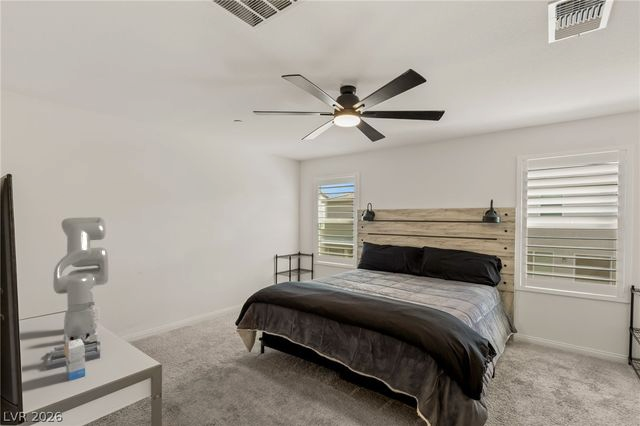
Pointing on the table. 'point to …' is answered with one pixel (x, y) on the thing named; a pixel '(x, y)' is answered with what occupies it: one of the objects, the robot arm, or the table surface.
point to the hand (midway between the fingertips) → (80, 350)
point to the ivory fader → (93, 338)
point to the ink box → (75, 358)
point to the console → (58, 356)
